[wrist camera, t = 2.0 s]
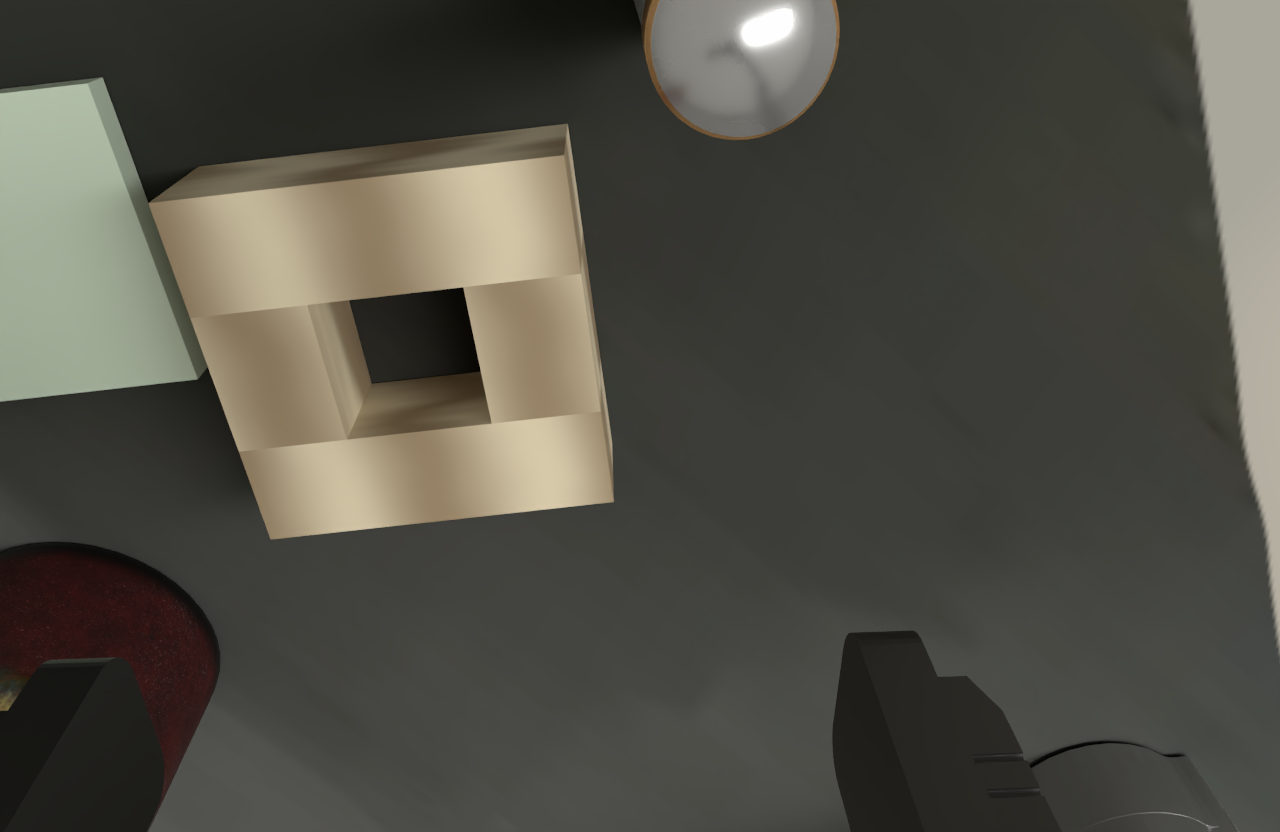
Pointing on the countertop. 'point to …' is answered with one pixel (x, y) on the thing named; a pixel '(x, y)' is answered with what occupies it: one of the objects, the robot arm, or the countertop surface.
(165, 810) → the countertop surface
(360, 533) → the countertop surface
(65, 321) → the pad
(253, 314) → the block
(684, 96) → the flashlight
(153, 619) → the vase
